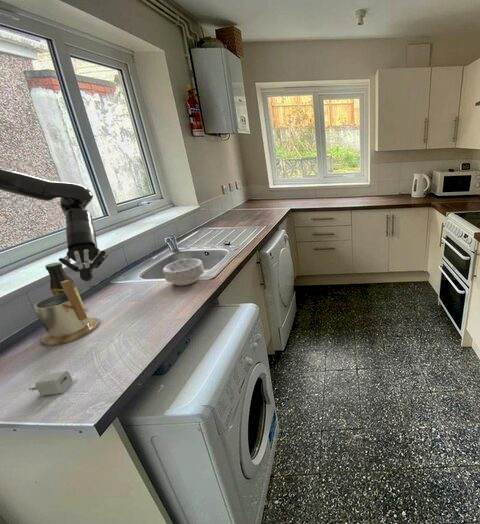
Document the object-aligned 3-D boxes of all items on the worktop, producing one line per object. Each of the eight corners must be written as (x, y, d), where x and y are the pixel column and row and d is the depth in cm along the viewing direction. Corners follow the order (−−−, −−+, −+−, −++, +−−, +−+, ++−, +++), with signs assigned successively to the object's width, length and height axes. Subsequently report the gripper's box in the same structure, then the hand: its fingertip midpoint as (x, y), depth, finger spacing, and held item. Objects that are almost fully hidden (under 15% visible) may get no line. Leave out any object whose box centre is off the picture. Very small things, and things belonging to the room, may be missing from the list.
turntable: (34, 351, 86) (33, 349, 85) (50, 328, 97) (49, 326, 97) (94, 335, 92) (93, 332, 92) (102, 315, 103) (101, 313, 103)
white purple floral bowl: (186, 290, 118) (181, 273, 115) (159, 286, 123) (153, 270, 120) (213, 275, 131) (209, 259, 128) (188, 272, 136) (183, 257, 133)
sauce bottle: (59, 318, 103) (33, 267, 95) (77, 309, 108) (53, 260, 101) (74, 319, 102) (48, 268, 94) (91, 309, 107) (69, 260, 100)
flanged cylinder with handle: (42, 335, 92) (12, 282, 84) (78, 318, 100) (54, 269, 93) (73, 345, 86) (44, 289, 79) (109, 326, 95) (86, 274, 87)
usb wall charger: (61, 394, 69) (54, 381, 68) (29, 398, 68) (21, 386, 67) (73, 381, 73) (67, 369, 72) (43, 386, 72) (36, 373, 71)
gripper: (50, 234, 94) (54, 281, 89) (100, 227, 100) (107, 270, 95) (62, 245, 100) (66, 289, 95) (109, 238, 106) (115, 279, 101)
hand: (87, 280), depth 95 cm, fingers closed
